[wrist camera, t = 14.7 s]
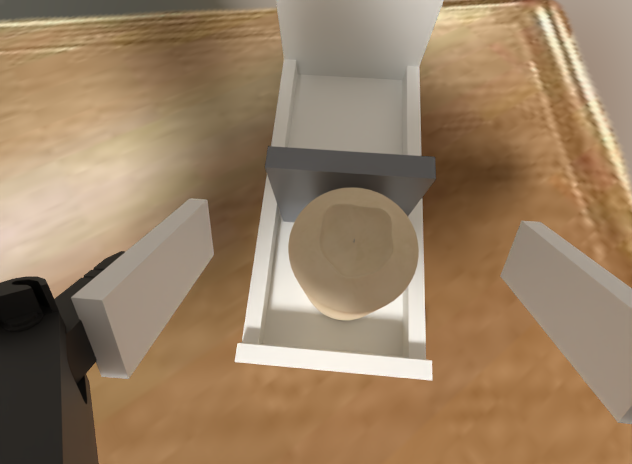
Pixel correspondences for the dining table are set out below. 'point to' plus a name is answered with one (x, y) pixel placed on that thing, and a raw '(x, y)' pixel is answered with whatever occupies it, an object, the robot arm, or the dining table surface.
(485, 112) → the dining table surface
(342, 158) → the plate
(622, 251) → the dining table surface
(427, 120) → the dining table surface
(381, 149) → the pusher lane
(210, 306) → the dining table surface
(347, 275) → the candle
